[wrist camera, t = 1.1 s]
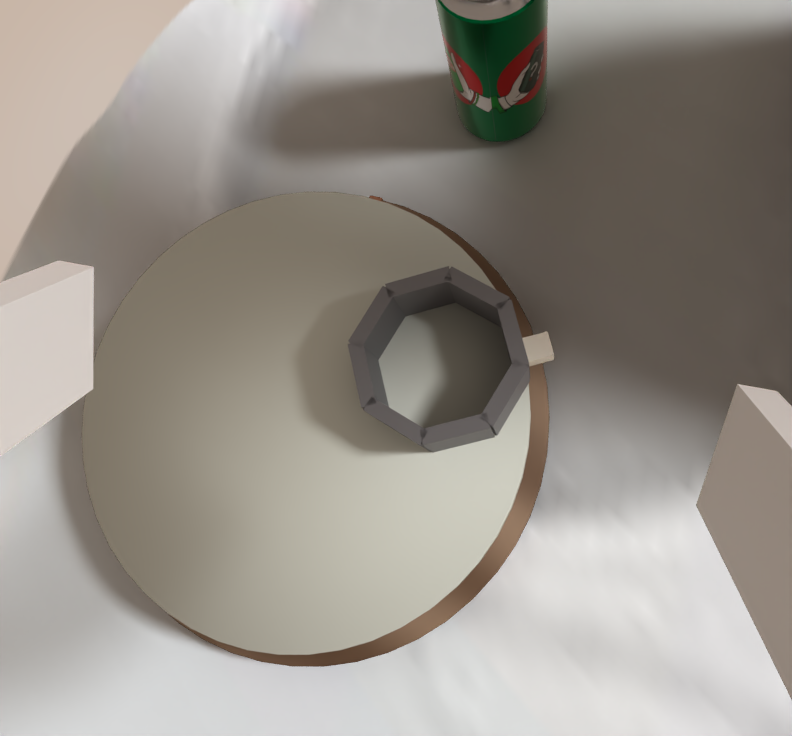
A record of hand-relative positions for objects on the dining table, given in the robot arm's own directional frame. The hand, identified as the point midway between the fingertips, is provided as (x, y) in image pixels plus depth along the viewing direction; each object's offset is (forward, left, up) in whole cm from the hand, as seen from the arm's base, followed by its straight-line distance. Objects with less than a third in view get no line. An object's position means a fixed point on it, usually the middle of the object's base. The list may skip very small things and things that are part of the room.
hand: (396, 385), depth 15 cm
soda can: (-15, -14, -25) cm, 33 cm away
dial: (+4, -8, -23) cm, 24 cm away
